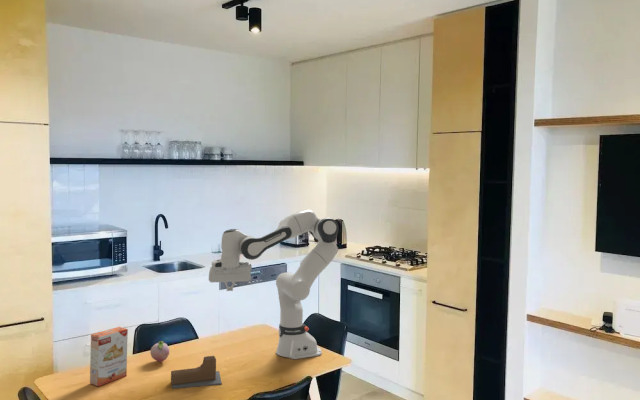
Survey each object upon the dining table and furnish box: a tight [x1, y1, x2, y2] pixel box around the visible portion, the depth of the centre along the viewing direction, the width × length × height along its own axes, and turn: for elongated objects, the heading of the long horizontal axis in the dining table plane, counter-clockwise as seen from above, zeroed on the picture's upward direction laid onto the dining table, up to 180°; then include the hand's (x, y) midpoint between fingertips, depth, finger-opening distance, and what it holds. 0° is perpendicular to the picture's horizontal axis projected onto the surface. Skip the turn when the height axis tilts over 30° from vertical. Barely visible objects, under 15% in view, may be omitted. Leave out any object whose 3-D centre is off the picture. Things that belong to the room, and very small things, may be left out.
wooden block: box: [170, 355, 217, 386], centre depth 213 cm, size 9×4×18 cm
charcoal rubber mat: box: [171, 370, 223, 390], centre depth 215 cm, size 20×13×1 cm, turn 106°
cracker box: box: [89, 326, 129, 387], centre depth 212 cm, size 14×6×21 cm, turn 148°
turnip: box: [150, 340, 170, 363], centre depth 234 cm, size 9×8×10 cm
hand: (229, 290), depth 246 cm, fingers closed
